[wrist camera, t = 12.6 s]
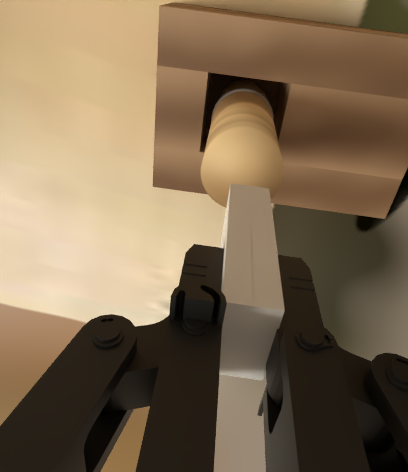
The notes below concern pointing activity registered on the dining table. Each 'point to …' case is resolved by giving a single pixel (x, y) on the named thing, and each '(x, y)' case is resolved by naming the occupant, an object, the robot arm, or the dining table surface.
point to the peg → (241, 143)
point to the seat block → (289, 103)
